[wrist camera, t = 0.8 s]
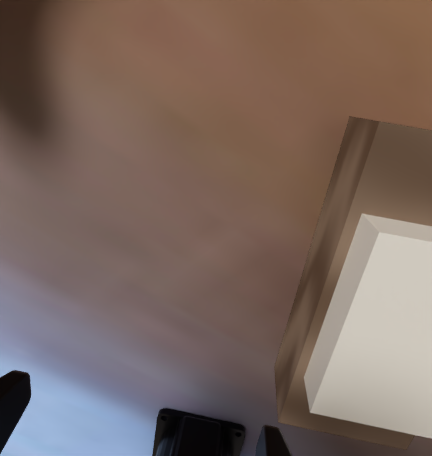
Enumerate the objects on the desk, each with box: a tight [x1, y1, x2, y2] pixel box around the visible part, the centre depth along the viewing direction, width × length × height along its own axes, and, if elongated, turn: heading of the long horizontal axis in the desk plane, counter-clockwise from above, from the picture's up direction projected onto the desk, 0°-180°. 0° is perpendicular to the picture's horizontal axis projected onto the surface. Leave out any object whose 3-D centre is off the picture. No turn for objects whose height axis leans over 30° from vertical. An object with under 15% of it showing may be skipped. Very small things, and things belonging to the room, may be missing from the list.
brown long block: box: [274, 117, 432, 450], centre depth 17 cm, size 16×7×4 cm, turn 171°
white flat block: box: [304, 214, 432, 439], centre depth 14 cm, size 9×6×2 cm, turn 171°
